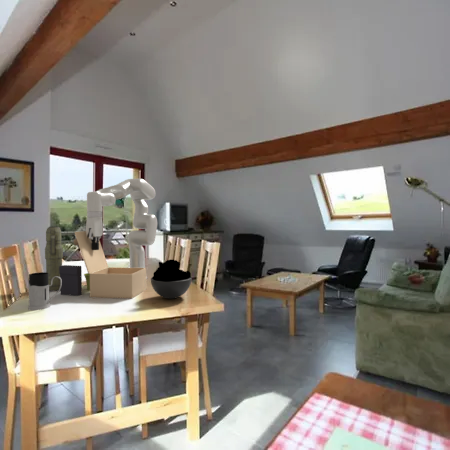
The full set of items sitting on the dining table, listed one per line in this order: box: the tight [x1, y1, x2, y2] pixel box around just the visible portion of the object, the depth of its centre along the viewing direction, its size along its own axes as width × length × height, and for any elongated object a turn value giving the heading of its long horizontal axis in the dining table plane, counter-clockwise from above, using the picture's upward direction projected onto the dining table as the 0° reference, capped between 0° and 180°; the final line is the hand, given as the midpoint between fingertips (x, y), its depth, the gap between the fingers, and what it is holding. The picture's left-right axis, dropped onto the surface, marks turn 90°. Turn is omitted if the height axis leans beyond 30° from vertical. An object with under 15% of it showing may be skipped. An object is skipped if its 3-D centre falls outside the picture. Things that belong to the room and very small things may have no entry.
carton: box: [89, 266, 147, 299], centre depth 168 cm, size 20×22×12 cm
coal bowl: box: [150, 259, 192, 299], centre depth 158 cm, size 20×20×19 cm
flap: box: [73, 230, 109, 274], centre depth 170 cm, size 20×22×9 cm
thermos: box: [44, 226, 64, 292], centre depth 177 cm, size 9×12×35 cm
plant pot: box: [83, 272, 90, 291], centre depth 178 cm, size 9×9×9 cm
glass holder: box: [27, 271, 62, 311], centre depth 143 cm, size 9×14×15 cm, turn 94°
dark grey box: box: [59, 264, 83, 297], centre depth 166 cm, size 11×4×15 cm, turn 74°
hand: (95, 249), depth 169 cm, fingers closed
